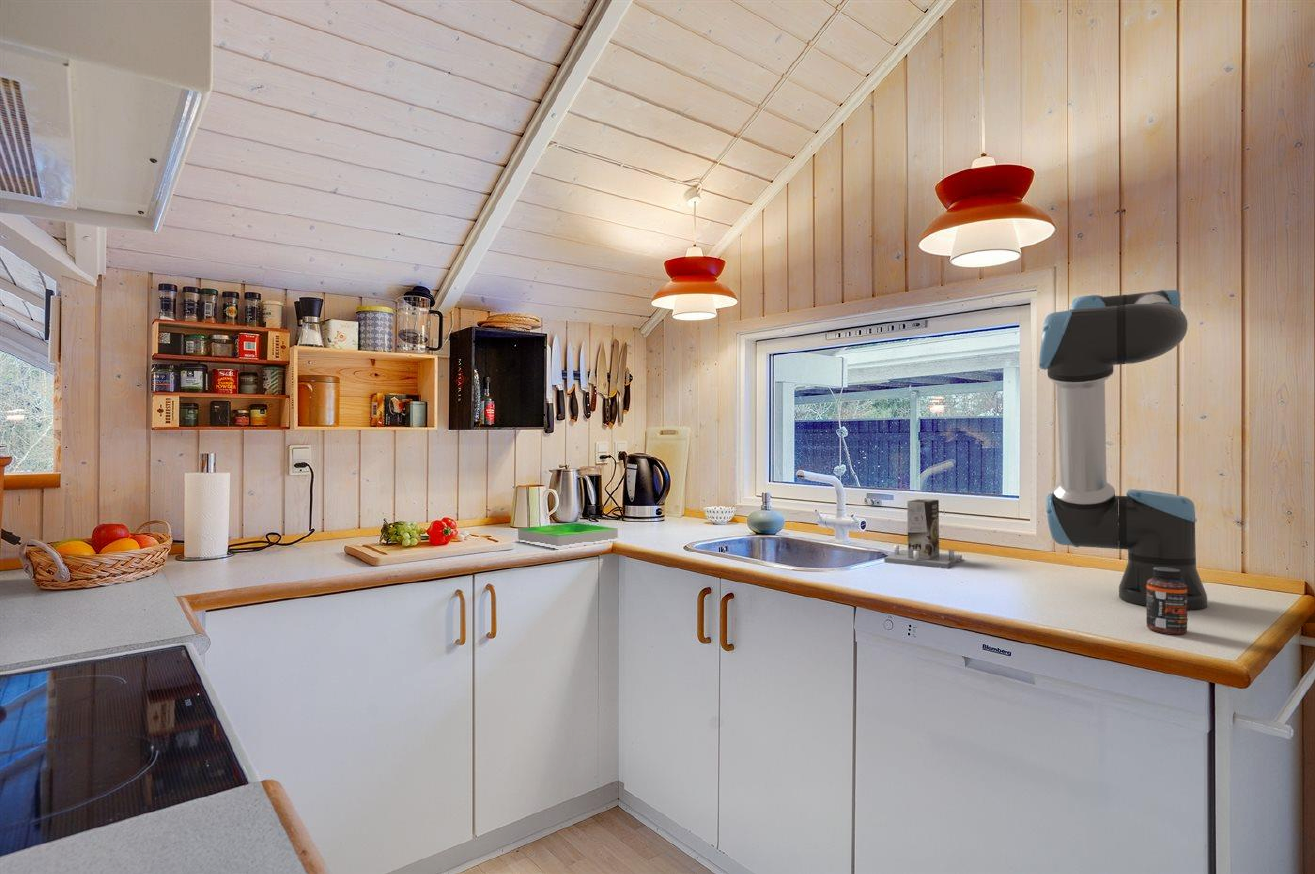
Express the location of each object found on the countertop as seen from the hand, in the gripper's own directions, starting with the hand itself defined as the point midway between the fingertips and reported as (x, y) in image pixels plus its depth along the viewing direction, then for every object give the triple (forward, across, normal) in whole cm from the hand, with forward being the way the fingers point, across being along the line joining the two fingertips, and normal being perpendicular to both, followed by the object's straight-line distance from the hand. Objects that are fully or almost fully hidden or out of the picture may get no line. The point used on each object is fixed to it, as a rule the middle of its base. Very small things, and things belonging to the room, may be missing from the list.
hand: (1090, 437), depth 178 cm
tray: (+36, +38, -153) cm, 162 cm away
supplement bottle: (+35, +56, +16) cm, 68 cm away
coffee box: (+34, +9, -40) cm, 53 cm away
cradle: (+35, +9, -40) cm, 54 cm away
